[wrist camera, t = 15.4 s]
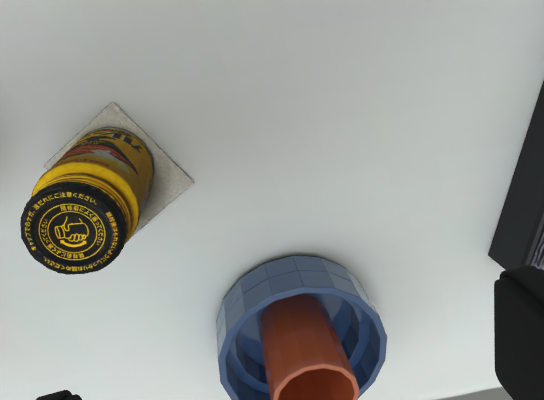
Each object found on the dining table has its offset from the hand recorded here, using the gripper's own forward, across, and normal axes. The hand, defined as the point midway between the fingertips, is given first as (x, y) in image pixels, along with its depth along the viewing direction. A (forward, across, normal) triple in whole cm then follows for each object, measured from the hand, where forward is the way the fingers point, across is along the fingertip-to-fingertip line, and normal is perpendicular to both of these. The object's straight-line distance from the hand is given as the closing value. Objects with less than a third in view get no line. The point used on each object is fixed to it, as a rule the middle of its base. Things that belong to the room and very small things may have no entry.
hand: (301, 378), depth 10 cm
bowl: (+26, -1, +20) cm, 33 cm away
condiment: (+26, +9, +2) cm, 28 cm away
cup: (+26, -1, +20) cm, 32 cm away
